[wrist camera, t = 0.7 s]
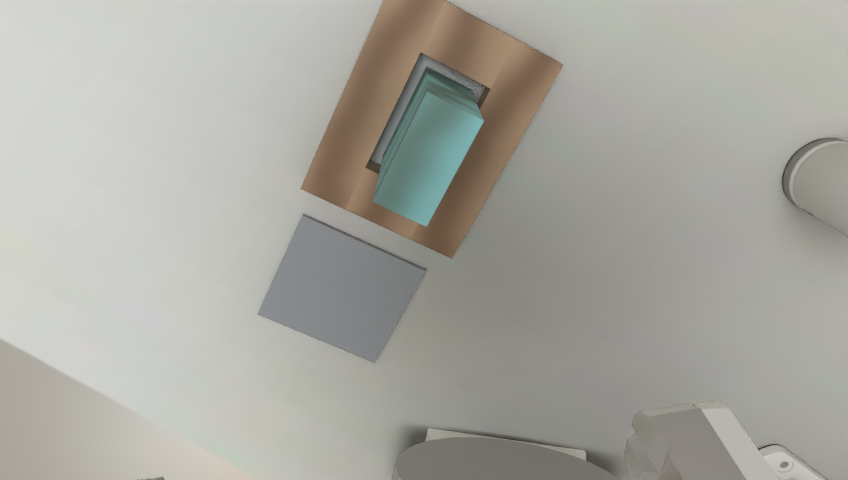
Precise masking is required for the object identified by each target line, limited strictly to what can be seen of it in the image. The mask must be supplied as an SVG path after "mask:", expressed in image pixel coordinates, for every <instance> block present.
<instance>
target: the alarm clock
mask: <svg viewBox="0 0 848 480" xmlns="http://www.w3.org/2000/svg"><path fill="white" fill-rule="evenodd" d="M392 480H620V479H618V478H617V477H616V476H614V475H613V474H612V473H610V472H608V471H606V470H604V469H602V468H600V467H598V466H596V465H594V464H593V463H590V462H588V461H586V453H585V450H578V449H571V448H564V447H557V446H550V445H543V444H536V443H529V442H523V441H516V440H509V439H502V438H495V437H488V436H481V435H474V434H467V433H460V432H453V431H446V430H439V429H432V428H428V431H427V435H426V440H425V442H422V443H419V444H416V445H412V446H411V447H409V448H408V449H406V450H405V451H403V452H401V453H400V454H399V456H398V459H397V461H396V463H395V466H394V471H393V476H392Z"/></svg>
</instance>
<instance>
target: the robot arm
mask: <svg viewBox="0 0 848 480" xmlns="http://www.w3.org/2000/svg"><path fill="white" fill-rule="evenodd" d="M632 426H633V428H634V430H635V432H636V433H635V434H634V435H633V436H632V437H631V438H629V439H628V440H627V444H626V448H625V462H626V469H627V472H628V475H629V479H630V480H827V479H825V478H824V477H823V476H821V475H820V474H818V473H817V472H816V471H814V470H813V469H812V468H810V467H809V466H808V465H806V464H805V463H804V462H802V461H801V460H800V459H798V458H797V457H796V456H794V455H793V454H792V453H790V452H789V451H788V450H786V449H785V448H783V447H782V446H779V445H773V446H769V447H766V448H763V449H760V450H758V449H757V447H756V446H755V445H754V443H753V442H752V440H751V439H750V438H749V436H748V435H747V433H746V432H745V431H744V429H743V428H742V426H741V425H740V423H739V422H738V421H737V419H736V418H735V416H734V415H733V414H732V412H731V411H730V409H729V408H728V407H727V405H725V404H724V403H723V402H721V401H710V402H703V403H697V404H684V405H677V406H671V407H664V408H658V409H651V410H645V411H639V412H638V413H637V414H636V415H635V416H634V419H633V422H632ZM139 480H164V478H163V477H155V478H147V479H139Z"/></svg>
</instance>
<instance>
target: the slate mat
mask: <svg viewBox="0 0 848 480" xmlns="http://www.w3.org/2000/svg"><path fill="white" fill-rule="evenodd" d="M425 272H426V269H424V268H422V267H419V266H417V265H415V264H413V263H411V262H408V261H406V260H404V259H402V258H400V257H397V256H395V255H393V254H391V253H389V252H386V251H384V250H382V249H380V248H377V247H375V246H373V245H371V244H369V243H366V242H364V241H362V240H360V239H358V238H355V237H353V236H351V235H349V234H347V233H344V232H342V231H340V230H338V229H336V228H333V227H331V226H329V225H327V224H325V223H322V222H320V221H318V220H316V219H313V218H311V217H309V216H307V215H305V214H303V216H302V218H301V220H300V222H299V225H298V227H297V229H296V231H295V233H294V236H293V238H292V240H291V242H290V244H289V247H288V249H287V251H286V253H285V255H284V258H283V260H282V262H281V264H280V266H279V269H278V271H277V273H276V275H275V278H274V280H273V282H272V284H271V286H270V289H269V291H268V293H267V295H266V297H265V300H264V302H263V304H262V306H261V308H260V311H259V313H258V315H261V316H263V317H266V318H268V319H270V320H273V321H275V322H278V323H280V324H282V325H285V326H287V327H290V328H292V329H294V330H297V331H299V332H302V333H304V334H306V335H309V336H311V337H314V338H316V339H318V340H321V341H323V342H326V343H328V344H331V345H333V346H335V347H338V348H340V349H343V350H345V351H347V352H350V353H352V354H355V355H357V356H359V357H362V358H364V359H367V360H369V361H371V362H374V363H375V361H376V360H377V358H378V356H379V354H380V353H381V351H382V349H383V347H384V345H385V344H386V342H387V340H388V338H389V336H390V335H391V333H392V331H393V329H394V327H395V326H396V324H397V322H398V320H399V319H400V317H401V315H402V313H403V311H404V310H405V308H406V306H407V304H408V302H409V301H410V299H411V297H412V295H413V293H414V292H415V290H416V288H417V286H418V285H419V283H420V281H421V279H422V277H423V276H424V274H425Z"/></svg>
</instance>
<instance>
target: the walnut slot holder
mask: <svg viewBox="0 0 848 480" xmlns="http://www.w3.org/2000/svg"><path fill="white" fill-rule="evenodd" d="M420 53H423V54H425V55H427V56H429V57H431V58H432V59H434V60H436V61H438V62H440V63H442V64H444V65H446V66H448V67H450V68H452V69H454V70H455V71H457V72H459V73H461V74H463V75H465V76H467V77H469V78H471V79H473V80H475V81H477V82H478V83H480V84H482V85H484V86H486V88H485V90H484V92H483V94H482V95H481V97H480V99H479V101H478V103H477V105H478V108H479V110H480V112H481V115H482V117H483V119H484V122H483V124H482V126H481V127H480V129H479V131H478V133H477V135H476V137H475V139H474V140H473V142H472V144H471V146H470V148H469V150H468V151H467V153H466V155H465V157H464V159H463V161H462V162H461V164H460V166H459V168H458V170H457V172H456V174H455V175H454V177H453V179H452V181H451V183H450V185H449V186H448V188H447V190H446V192H445V194H444V196H443V198H442V199H441V201H440V203H439V205H438V207H437V209H436V210H435V212H434V214H433V216H432V218H431V220H430V221H429V223H428V225H427V227H426V226H424V225H422V224H419V223H417V222H415V221H413V220H411V219H409V218H407V217H404V216H402V215H400V214H398V213H396V212H394V211H392V210H389V209H387V208H385V207H383V206H381V205H379V204H377V203H374V202H373V197H374V193H375V189H376V185H377V180H378V176H379V172H380V168H381V165H379V164H376V163H374V162H372V161H370V160H369V159H370V157H371V155H372V153H373V151H374V148H375V146H376V144H377V142H378V140H379V138H380V136H381V134H382V132H383V130H384V128H385V126H386V124H387V121H388V119H389V117H390V115H391V113H392V111H393V109H394V107H395V105H396V103H397V101H398V99H399V96H400V94H401V92H402V90H403V88H404V86H405V84H406V82H407V80H408V78H409V76H410V74H411V71H412V69H413V67H414V65H415V63H416V61H417V59H418V57H419V55H420ZM562 66H563V65H562V64H561V63H559V62H557V61H556V60H554V59H552V58H550V57H548V56H546V55H544V54H543V53H541V52H539V51H537V50H535V49H533V48H532V47H530V46H528V45H526V44H524V43H522V42H521V41H519V40H517V39H515V38H513V37H511V36H509V35H508V34H506V33H504V32H502V31H500V30H498V29H497V28H495V27H493V26H491V25H489V24H487V23H486V22H484V21H482V20H480V19H478V18H476V17H474V16H473V15H471V14H469V13H467V12H465V11H463V10H462V9H460V8H458V7H456V6H454V5H452V4H451V3H449V2H447V1H445V0H384V1H383V4H382V6H381V8H380V10H379V13H378V15H377V17H376V19H375V22H374V24H373V26H372V28H371V31H370V33H369V35H368V37H367V40H366V42H365V44H364V46H363V49H362V51H361V53H360V55H359V58H358V60H357V62H356V64H355V67H354V69H353V71H352V74H351V76H350V78H349V80H348V83H347V85H346V87H345V89H344V92H343V94H342V96H341V98H340V101H339V103H338V105H337V107H336V110H335V112H334V114H333V116H332V119H331V121H330V123H329V125H328V128H327V130H326V132H325V134H324V137H323V139H322V141H321V143H320V146H319V148H318V150H317V152H316V155H315V157H314V159H313V161H312V164H311V166H310V168H309V171H308V173H307V175H306V177H305V180H304V182H303V184H302V186H301V189H302V190H304V191H306V192H308V193H311V194H313V195H315V196H317V197H319V198H321V199H324V200H326V201H328V202H330V203H332V204H334V205H337V206H339V207H341V208H343V209H345V210H348V211H350V212H352V213H354V214H356V215H358V216H361V217H363V218H365V219H367V220H369V221H371V222H374V223H376V224H378V225H380V226H382V227H384V228H387V229H389V230H391V231H393V232H395V233H397V234H400V235H402V236H404V237H406V238H408V239H411V240H413V241H415V242H417V243H419V244H421V245H424V246H426V247H428V248H430V249H432V250H434V251H437V252H439V253H441V254H443V255H445V256H447V257H450V258H453V256H454V254H455V253H456V251H457V249H458V247H459V246H460V244H461V242H462V240H463V239H464V237H465V235H466V233H467V232H468V230H469V228H470V226H471V225H472V223H473V221H474V219H475V218H476V216H477V214H478V212H479V211H480V209H481V207H482V205H483V204H484V202H485V200H486V198H487V197H488V195H489V193H490V191H491V190H492V188H493V186H494V185H495V183H496V181H497V179H498V178H499V176H500V174H501V172H502V171H503V169H504V167H505V165H506V164H507V162H508V160H509V158H510V157H511V155H512V153H513V151H514V150H515V148H516V146H517V144H518V143H519V141H520V139H521V137H522V136H523V134H524V132H525V130H526V129H527V127H528V125H529V123H530V122H531V120H532V118H533V116H534V115H535V113H536V111H537V109H538V108H539V106H540V104H541V102H542V101H543V99H544V97H545V95H546V94H547V92H548V90H549V88H550V87H551V85H552V83H553V81H554V80H555V78H556V76H557V74H558V73H559V71H560V69H561V67H562Z"/></svg>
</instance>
